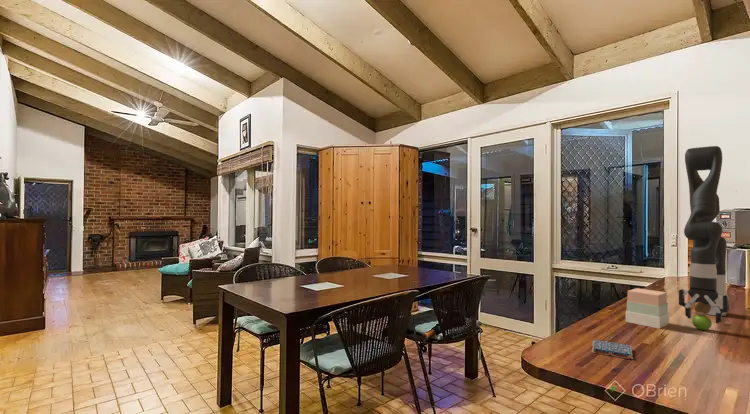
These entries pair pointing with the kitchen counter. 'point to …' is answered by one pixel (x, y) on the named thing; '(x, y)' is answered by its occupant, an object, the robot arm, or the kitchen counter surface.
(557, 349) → the kitchen counter surface
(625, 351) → the woven mat
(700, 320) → the snail figurine
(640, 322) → the stacked pastel boxes
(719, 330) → the kitchen counter surface
